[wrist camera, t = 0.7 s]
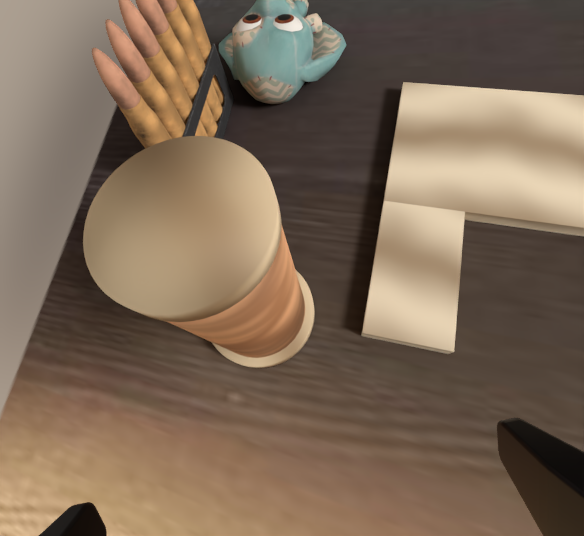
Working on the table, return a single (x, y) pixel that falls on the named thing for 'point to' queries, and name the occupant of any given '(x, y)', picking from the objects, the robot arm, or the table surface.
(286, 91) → the stuffed animal
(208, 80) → the ammunition clip
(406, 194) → the shelf board
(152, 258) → the cord reel
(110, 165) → the table surface
